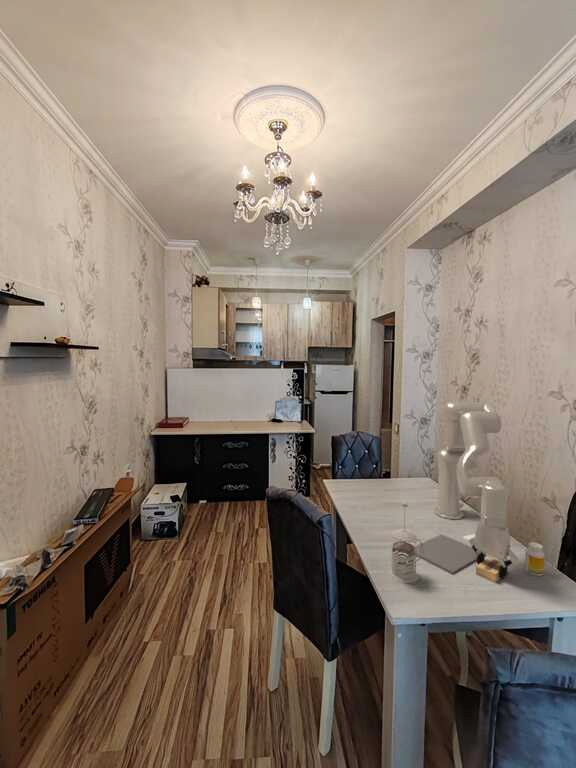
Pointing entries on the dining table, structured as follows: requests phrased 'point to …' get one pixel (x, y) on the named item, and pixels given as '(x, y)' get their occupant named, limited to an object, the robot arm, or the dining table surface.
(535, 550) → the supplement bottle
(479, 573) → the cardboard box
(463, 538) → the external hard drive
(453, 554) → the rubber mat
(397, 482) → the dining table surface
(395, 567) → the french press
